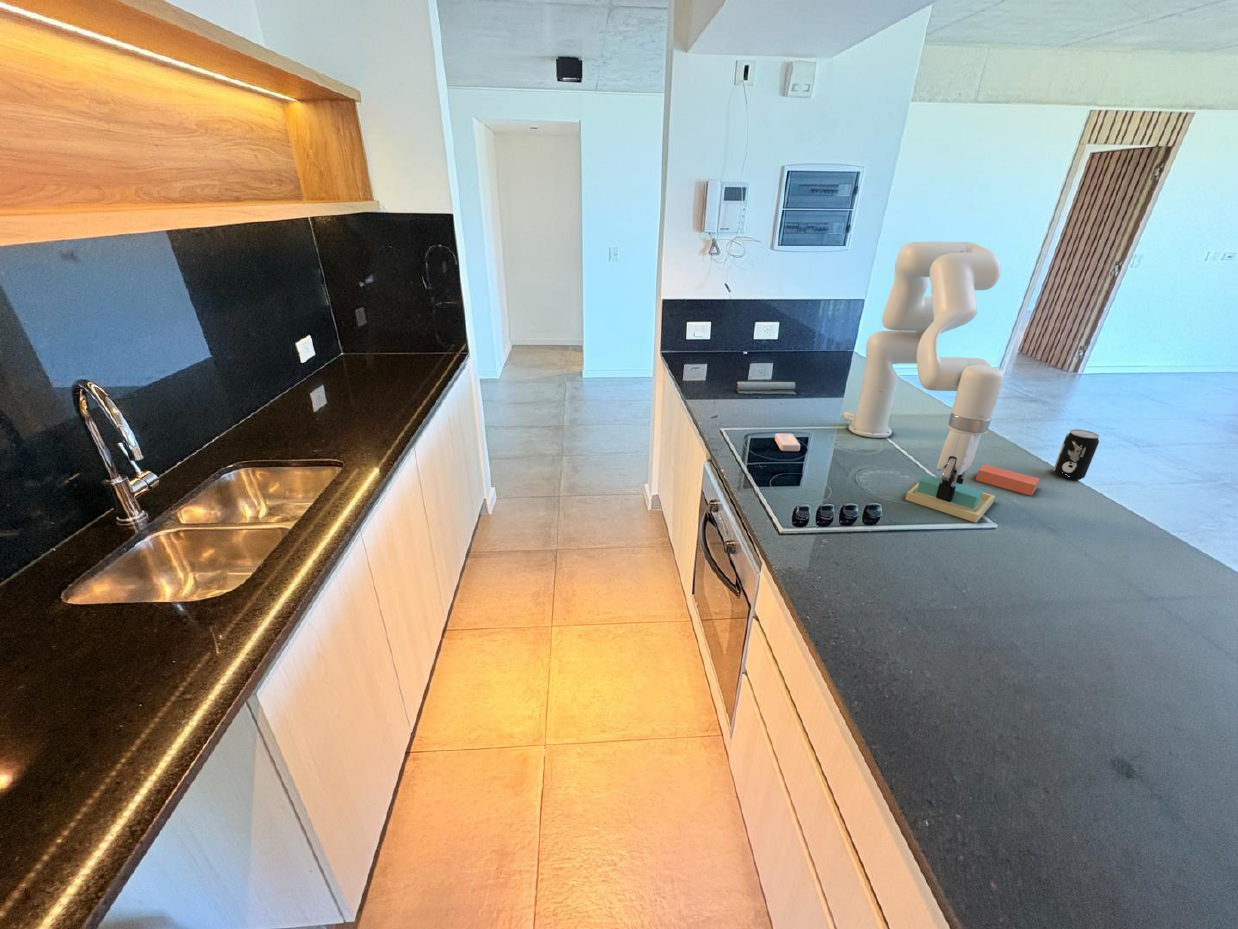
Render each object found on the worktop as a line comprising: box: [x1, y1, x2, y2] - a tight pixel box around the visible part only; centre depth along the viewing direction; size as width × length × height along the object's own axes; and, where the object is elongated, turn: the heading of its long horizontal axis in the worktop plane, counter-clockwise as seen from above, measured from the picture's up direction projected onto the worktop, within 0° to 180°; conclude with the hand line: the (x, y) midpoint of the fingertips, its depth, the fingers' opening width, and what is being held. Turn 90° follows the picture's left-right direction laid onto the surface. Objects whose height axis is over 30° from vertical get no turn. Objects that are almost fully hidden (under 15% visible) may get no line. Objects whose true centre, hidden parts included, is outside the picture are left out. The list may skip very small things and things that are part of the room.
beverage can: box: [1052, 428, 1100, 481], centre depth 136 cm, size 7×7×12 cm
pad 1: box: [917, 473, 984, 509], centre depth 123 cm, size 12×5×3 cm, turn 44°
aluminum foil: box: [735, 381, 797, 395], centre depth 207 cm, size 23×7×3 cm, turn 88°
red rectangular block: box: [975, 464, 1040, 497], centre depth 134 cm, size 12×5×3 cm, turn 43°
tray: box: [904, 482, 996, 524], centre depth 126 cm, size 15×13×2 cm
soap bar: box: [774, 432, 801, 452], centre depth 157 cm, size 5×9×2 cm, turn 177°
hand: (947, 495), depth 124 cm, fingers closed on pad 1, 4 cm apart
